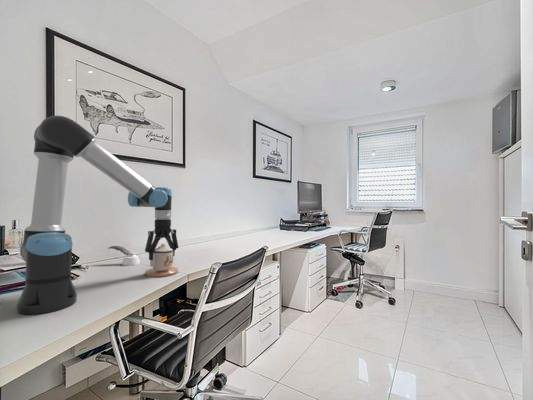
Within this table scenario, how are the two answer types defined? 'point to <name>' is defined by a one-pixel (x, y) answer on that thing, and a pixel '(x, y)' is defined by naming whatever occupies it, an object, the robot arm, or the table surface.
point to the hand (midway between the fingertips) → (162, 264)
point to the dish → (161, 272)
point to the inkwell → (130, 258)
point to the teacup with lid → (163, 258)
